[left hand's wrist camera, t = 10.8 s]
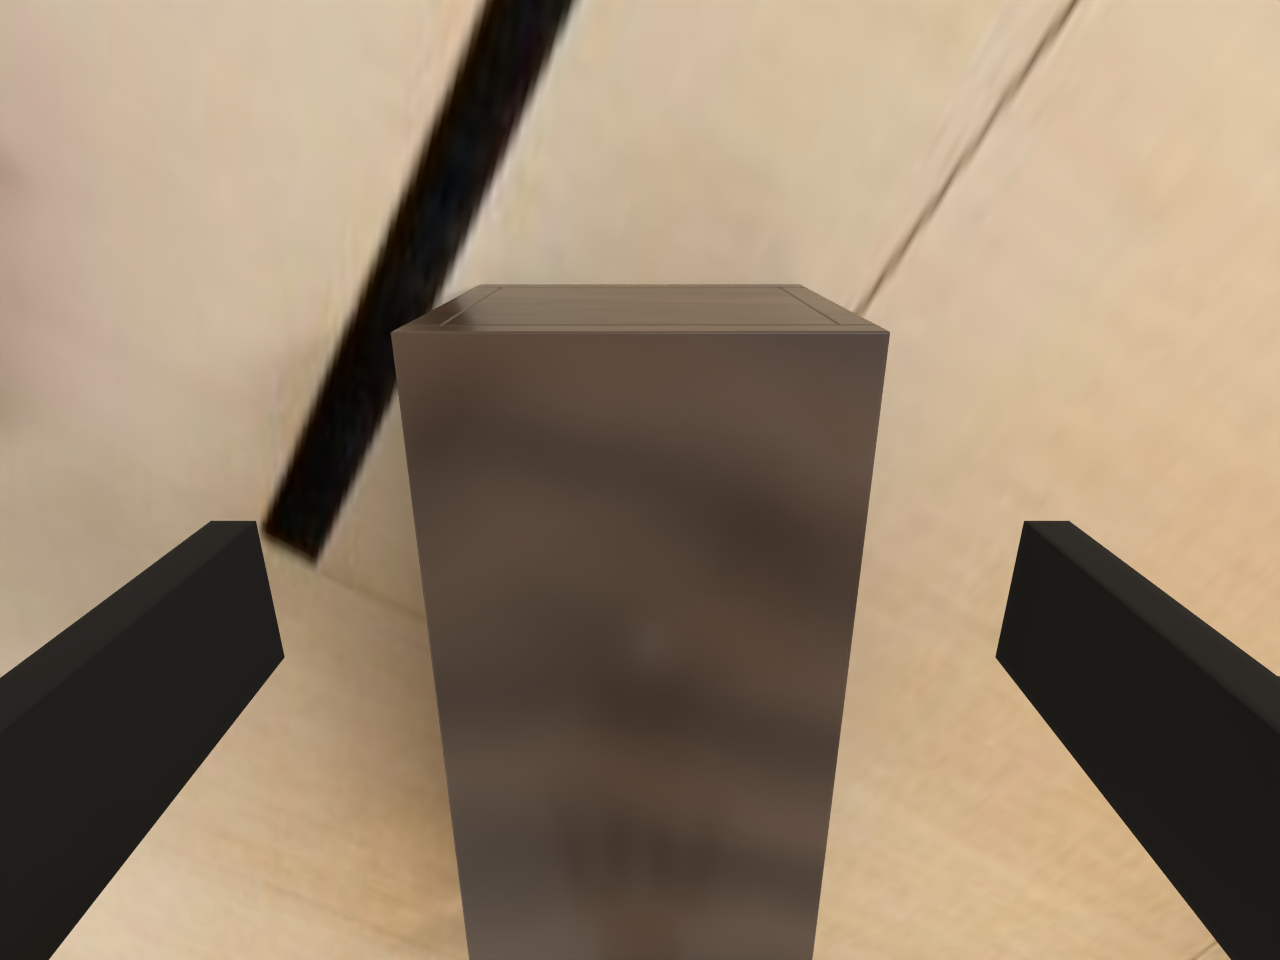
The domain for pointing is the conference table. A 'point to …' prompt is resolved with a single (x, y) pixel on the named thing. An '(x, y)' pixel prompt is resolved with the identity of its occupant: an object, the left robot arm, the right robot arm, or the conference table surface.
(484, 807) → the cabinet
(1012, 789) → the conference table surface
